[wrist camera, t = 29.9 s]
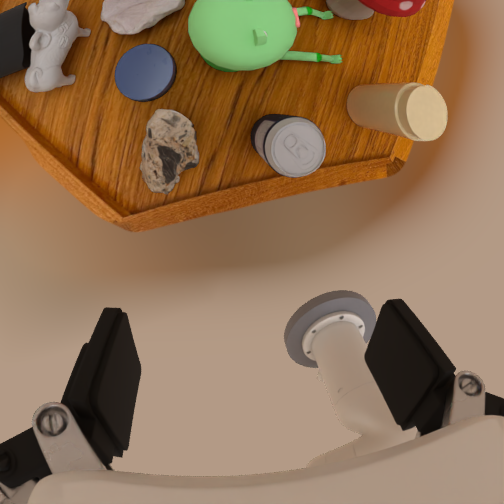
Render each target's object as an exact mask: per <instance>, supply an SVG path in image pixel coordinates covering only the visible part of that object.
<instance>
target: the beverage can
mask: <svg viewBox="0 0 504 504" xmlns="http://www.w3.org/2000/svg"><path fill="white" fill-rule="evenodd" d="M251 143H252V146H253V148H254V149H255V151H256V152H257V153H258V154H259V155H260V156H261V157H262V158H263V159H264V160H265V161H266V162H267V163H268V164H269V166H270V167H271V168H272V169H273V170H274V171H276V172H277V173H279V174H281V175H283V176H286V177H292V178H296V177H302V176H306V175H308V174H311V173H312V172H314V171H315V170H316V169H318V167H319V166H320V165H321V163H322V162H323V160H324V157H325V153H326V145H325V140H324V137H323V135H322V133H321V131H320V129H319V128H318V127H317V126H316V125H315V124H314V123H313V122H312V121H310V120H308V119H306V118H303V117H297V116H289V115H280V114H269V115H266V116H263V117H261V118H260V119H259V120H258V121H257V122H256V123H255V124H254V126H253V128H252V131H251Z"/></svg>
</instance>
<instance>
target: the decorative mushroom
mask: <svg viewBox="0 0 504 504" xmlns="http://www.w3.org/2000/svg"><path fill="white" fill-rule="evenodd" d="M425 1H426V0H326V4H327V6H328V8H329V9H330V10H331V11H333V12H332V13H334V14H336V15H337V16H339V17H342V18H344V19H350V20H363V19H366V18H369V17H370V16H371V15H373V13H374V11H376V12H378V13H381V14H385V15H388V16H396V17H407V16H410V15H414V14H415V13H416V12H418V11H419V10H420V9H421V8H422V7H423V6H424V4H425Z"/></svg>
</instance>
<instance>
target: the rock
mask: <svg viewBox="0 0 504 504" xmlns="http://www.w3.org/2000/svg"><path fill="white" fill-rule="evenodd" d="M193 126H194V125H193V124H192V123H191V121H190V120H189V119H188V118H186V117H185V116H184V115H182V114H180V113H178V112H176V111H174V110H165V109H158V110H156V111H155V114H154V115H153V116H152V117H151V119H150V120H149V121H148V122H147V126H146V132H147V135H146V137H145V139H144V141H143V145H142V162H141V165H140V169H141V170H142V173H143V175H142V179H143V181H145V182H146V183H147V186H148V187H149V189H150V190H151V191H152V192H155V193H164V194H168V193H169V192H170V191H172V189H173V188H174V184H176V183H177V182H179V180H180V178H179V176H178V175H179V174H180V172H182V171H184V170H186V169H190V168H195V167H196V166H197V165H198V163H199V152H198V148H197V146H196V139H197V138H196V131H195V130H194V129H193Z"/></svg>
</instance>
